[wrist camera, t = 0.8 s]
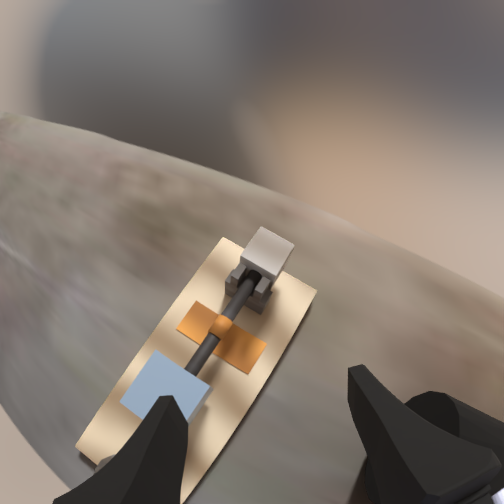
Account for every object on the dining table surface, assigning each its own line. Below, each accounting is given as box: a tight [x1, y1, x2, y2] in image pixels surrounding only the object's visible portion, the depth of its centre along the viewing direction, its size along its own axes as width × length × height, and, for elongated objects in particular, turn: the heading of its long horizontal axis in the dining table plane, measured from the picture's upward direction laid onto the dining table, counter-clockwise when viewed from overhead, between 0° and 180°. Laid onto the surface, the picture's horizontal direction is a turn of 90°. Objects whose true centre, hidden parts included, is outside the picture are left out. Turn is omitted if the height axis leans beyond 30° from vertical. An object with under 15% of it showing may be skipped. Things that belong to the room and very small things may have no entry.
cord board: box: [75, 227, 317, 504], centre depth 21 cm, size 24×10×6 cm, turn 149°
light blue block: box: [119, 349, 214, 427], centre depth 18 cm, size 4×4×6 cm
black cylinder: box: [365, 391, 504, 504], centre depth 16 cm, size 10×34×10 cm, turn 59°
